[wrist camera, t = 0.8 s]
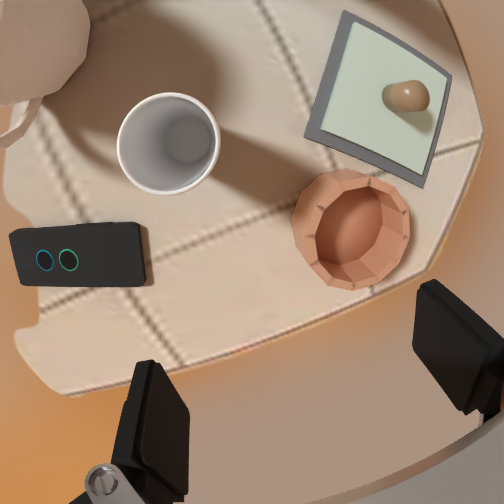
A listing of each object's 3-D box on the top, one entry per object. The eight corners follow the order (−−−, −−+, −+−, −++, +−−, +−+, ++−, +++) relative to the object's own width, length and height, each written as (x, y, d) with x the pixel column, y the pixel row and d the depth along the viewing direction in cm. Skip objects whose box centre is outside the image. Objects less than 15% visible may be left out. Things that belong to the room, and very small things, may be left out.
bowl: (312, 155, 33) (330, 160, 27) (397, 189, 35) (424, 200, 30) (278, 255, 37) (289, 276, 31) (363, 276, 40) (382, 297, 34)
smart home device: (7, 231, 30) (136, 223, 32) (13, 227, 32) (140, 219, 34) (20, 287, 33) (145, 288, 35) (26, 281, 35) (147, 282, 37)
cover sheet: (352, 23, 27) (374, 8, 21) (443, 78, 30) (471, 75, 24) (320, 129, 31) (339, 129, 26) (418, 174, 35) (445, 182, 29)
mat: (342, 10, 26) (344, 9, 26) (450, 75, 30) (452, 75, 29) (303, 137, 32) (304, 137, 32) (420, 187, 36) (422, 188, 35)
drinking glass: (231, 127, 31) (241, 119, 17) (202, 180, 33) (191, 215, 19) (176, 100, 29) (145, 74, 15) (148, 155, 31) (99, 171, 17)
